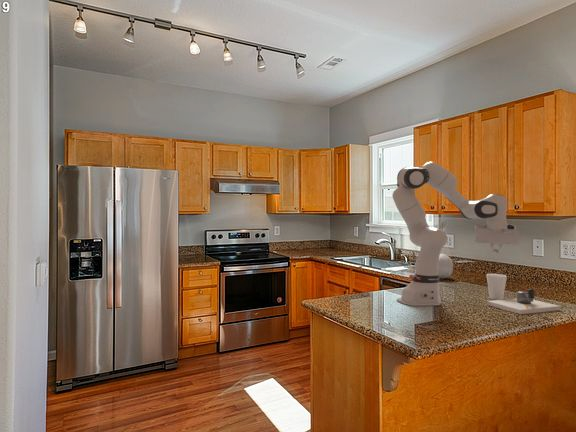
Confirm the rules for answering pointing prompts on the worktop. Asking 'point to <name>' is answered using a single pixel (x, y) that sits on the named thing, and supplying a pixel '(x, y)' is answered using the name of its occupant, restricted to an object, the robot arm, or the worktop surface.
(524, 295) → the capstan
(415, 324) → the worktop surface
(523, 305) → the stand
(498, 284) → the foam cup
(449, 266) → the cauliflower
